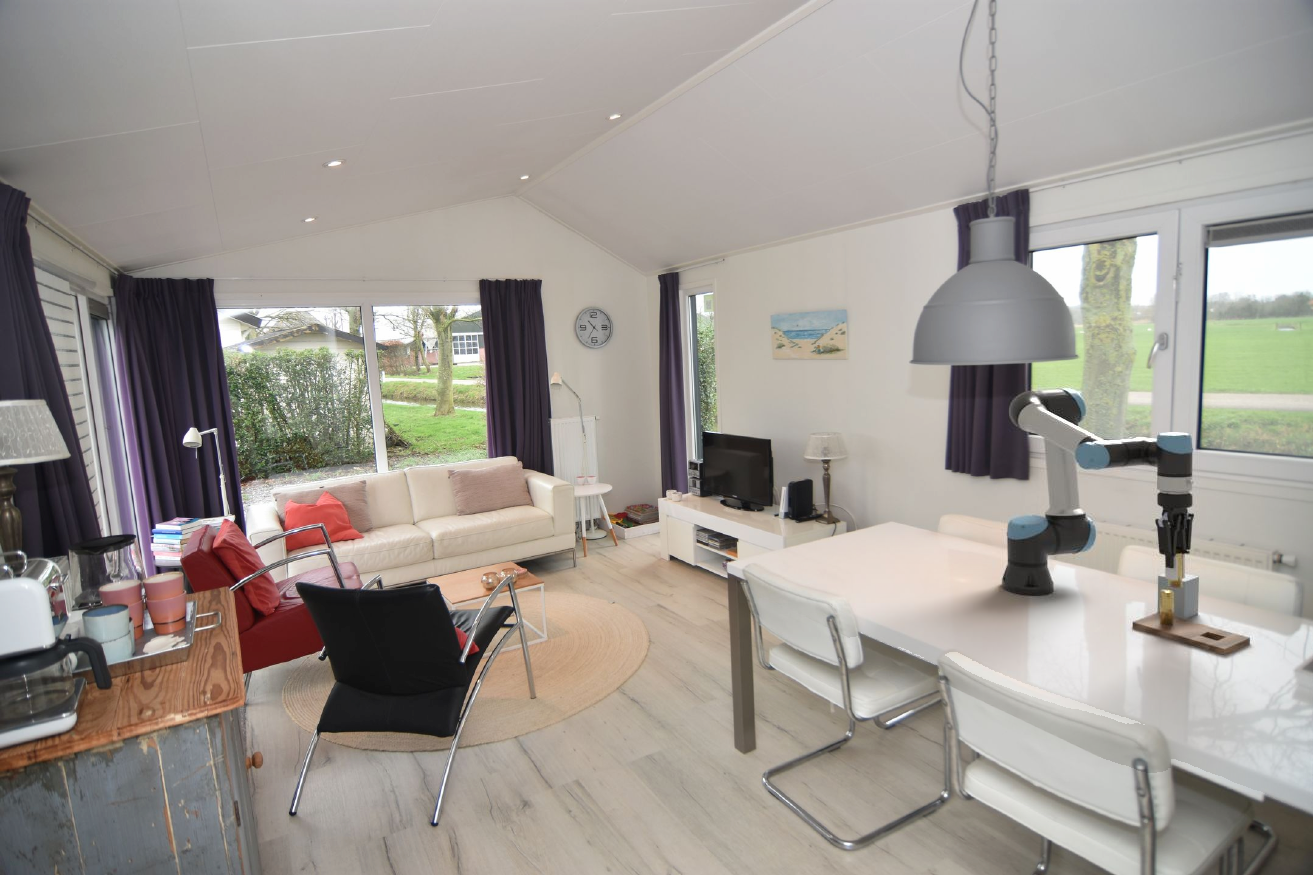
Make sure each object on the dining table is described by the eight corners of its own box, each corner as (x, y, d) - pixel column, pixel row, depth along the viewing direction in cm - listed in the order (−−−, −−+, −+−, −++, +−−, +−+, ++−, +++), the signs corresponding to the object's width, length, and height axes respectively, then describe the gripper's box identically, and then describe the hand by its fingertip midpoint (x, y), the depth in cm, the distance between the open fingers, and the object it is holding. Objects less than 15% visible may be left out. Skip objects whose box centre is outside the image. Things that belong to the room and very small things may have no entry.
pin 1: (1157, 622, 194) (1158, 591, 193) (1163, 620, 195) (1164, 588, 194) (1169, 626, 191) (1170, 594, 190) (1175, 623, 193) (1176, 591, 192)
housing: (1157, 611, 205) (1158, 575, 204) (1171, 606, 208) (1171, 570, 207) (1184, 619, 199) (1185, 581, 198) (1198, 613, 202) (1198, 576, 201)
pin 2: (1165, 585, 189) (1165, 552, 188) (1172, 583, 190) (1172, 550, 189) (1178, 588, 186) (1177, 554, 186) (1184, 586, 188) (1184, 552, 187)
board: (1132, 627, 196) (1132, 621, 196) (1157, 617, 201) (1157, 612, 201) (1224, 655, 176) (1224, 648, 176) (1249, 643, 181) (1249, 637, 181)
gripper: (1172, 497, 179) (1173, 587, 182) (1207, 489, 186) (1207, 576, 188) (1141, 493, 186) (1142, 580, 188) (1176, 486, 193) (1176, 569, 195)
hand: (1175, 578), depth 188 cm, fingers closed on pin 2, 2 cm apart
